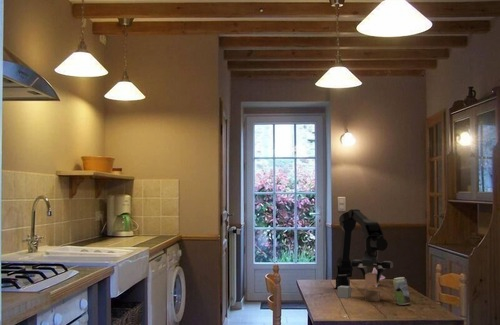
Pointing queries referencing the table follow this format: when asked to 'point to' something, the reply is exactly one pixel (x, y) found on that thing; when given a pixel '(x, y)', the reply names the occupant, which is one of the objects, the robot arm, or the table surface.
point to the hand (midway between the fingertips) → (372, 282)
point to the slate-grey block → (344, 291)
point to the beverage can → (401, 291)
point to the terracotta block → (371, 279)
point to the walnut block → (372, 295)
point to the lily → (376, 272)
